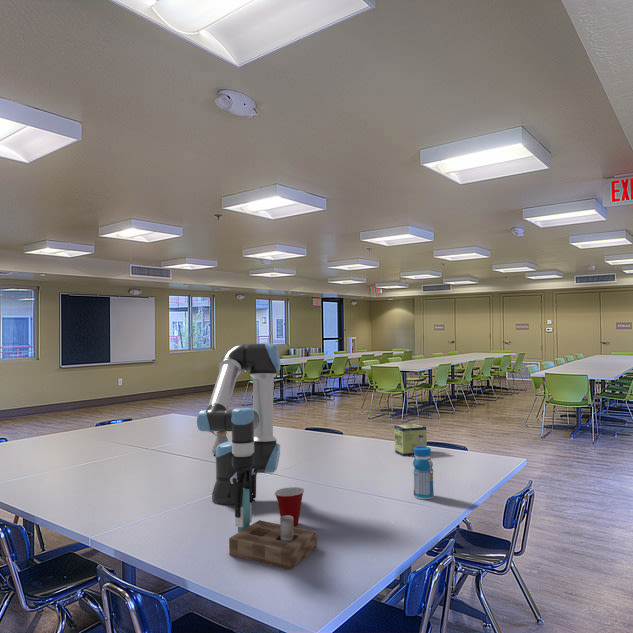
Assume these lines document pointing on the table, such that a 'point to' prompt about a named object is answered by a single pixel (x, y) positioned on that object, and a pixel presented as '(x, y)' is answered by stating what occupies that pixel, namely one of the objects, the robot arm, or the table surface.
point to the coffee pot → (219, 439)
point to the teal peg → (245, 509)
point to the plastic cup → (290, 502)
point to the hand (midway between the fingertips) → (243, 523)
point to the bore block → (274, 543)
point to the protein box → (409, 438)
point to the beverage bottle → (423, 473)
